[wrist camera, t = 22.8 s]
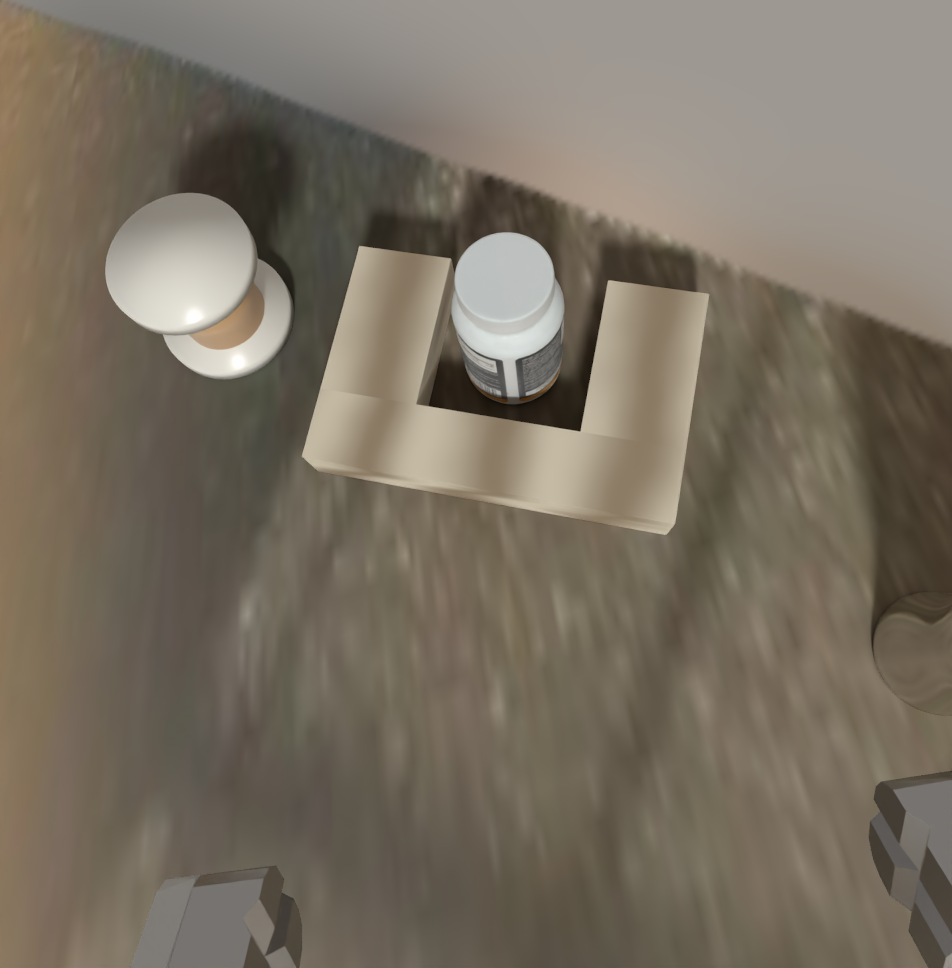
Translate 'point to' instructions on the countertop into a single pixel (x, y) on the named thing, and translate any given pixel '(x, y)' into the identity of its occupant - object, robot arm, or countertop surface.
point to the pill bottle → (509, 317)
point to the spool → (200, 285)
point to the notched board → (500, 442)
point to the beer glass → (917, 651)
